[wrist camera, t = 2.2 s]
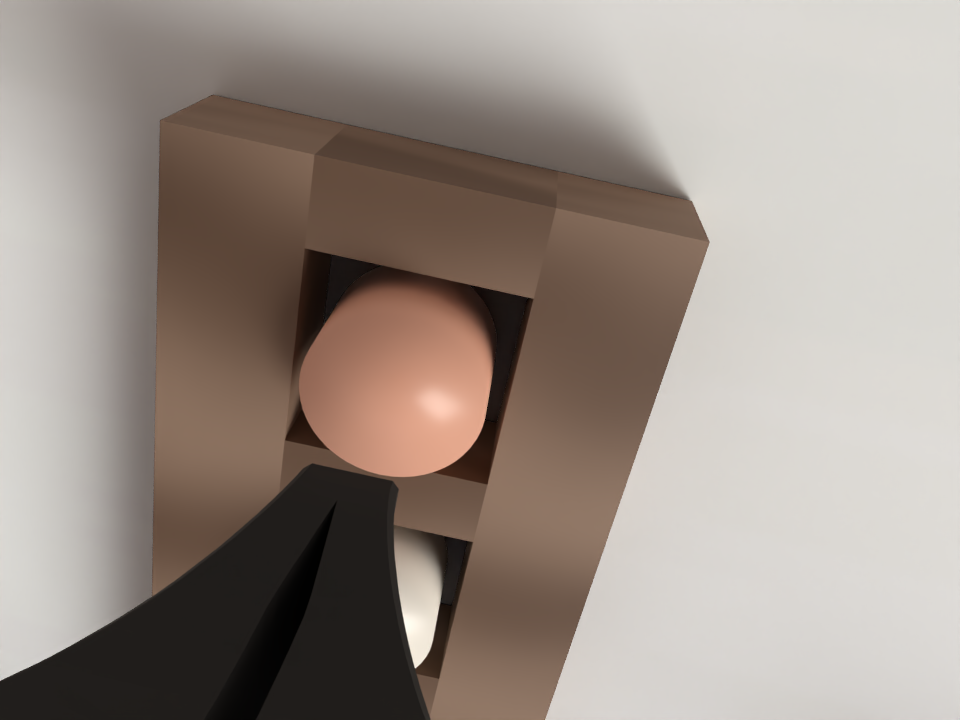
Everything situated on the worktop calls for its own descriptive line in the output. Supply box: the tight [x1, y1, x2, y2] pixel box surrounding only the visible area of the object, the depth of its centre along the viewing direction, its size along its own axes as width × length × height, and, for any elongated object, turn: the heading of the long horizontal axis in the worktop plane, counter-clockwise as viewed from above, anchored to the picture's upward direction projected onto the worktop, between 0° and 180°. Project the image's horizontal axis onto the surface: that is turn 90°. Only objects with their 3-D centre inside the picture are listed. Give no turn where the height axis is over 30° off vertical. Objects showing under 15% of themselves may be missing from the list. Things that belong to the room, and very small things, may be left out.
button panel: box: [152, 95, 709, 720], centre depth 21 cm, size 20×10×2 cm, turn 169°
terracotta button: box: [299, 266, 497, 477], centre depth 17 cm, size 4×4×2 cm
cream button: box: [394, 525, 448, 668], centre depth 20 cm, size 4×4×2 cm
